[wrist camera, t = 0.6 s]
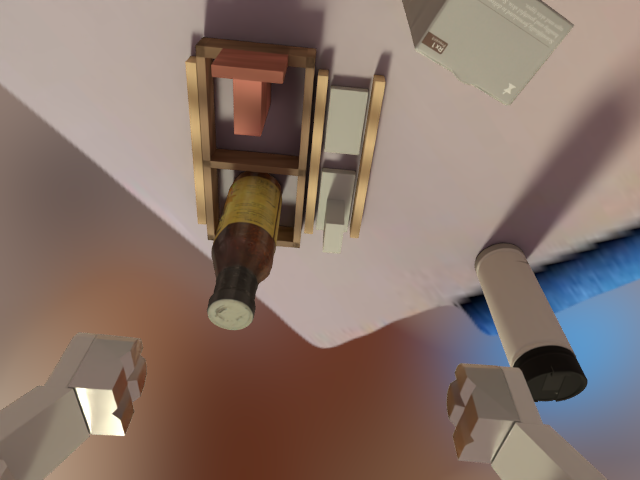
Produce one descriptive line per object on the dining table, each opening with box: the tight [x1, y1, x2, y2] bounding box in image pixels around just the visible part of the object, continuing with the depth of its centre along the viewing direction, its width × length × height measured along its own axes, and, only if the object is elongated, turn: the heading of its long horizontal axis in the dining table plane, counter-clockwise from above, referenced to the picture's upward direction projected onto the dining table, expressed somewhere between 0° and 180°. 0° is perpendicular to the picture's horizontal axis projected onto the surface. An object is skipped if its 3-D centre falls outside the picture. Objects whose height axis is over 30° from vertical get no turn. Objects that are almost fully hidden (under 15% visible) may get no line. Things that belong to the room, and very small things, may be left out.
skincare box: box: [402, 0, 574, 105], centre depth 37 cm, size 8×7×16 cm
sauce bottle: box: [207, 171, 282, 330], centre depth 48 cm, size 7×6×20 cm
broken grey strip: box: [316, 85, 368, 254], centre depth 51 cm, size 18×4×6 cm, turn 175°
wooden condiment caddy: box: [195, 37, 316, 248], centre depth 49 cm, size 22×11×8 cm, turn 175°
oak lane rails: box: [185, 56, 386, 238], centre depth 52 cm, size 19×19×2 cm
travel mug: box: [475, 243, 587, 402], centre depth 53 cm, size 6×7×20 cm
